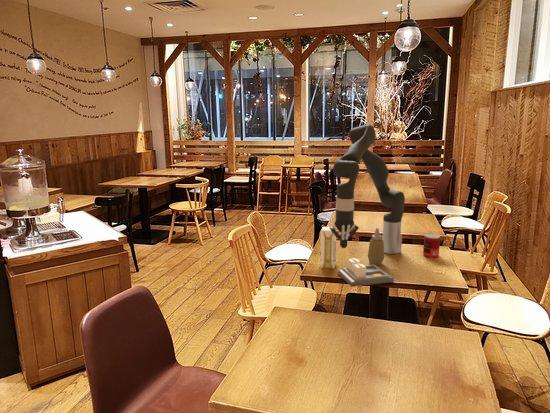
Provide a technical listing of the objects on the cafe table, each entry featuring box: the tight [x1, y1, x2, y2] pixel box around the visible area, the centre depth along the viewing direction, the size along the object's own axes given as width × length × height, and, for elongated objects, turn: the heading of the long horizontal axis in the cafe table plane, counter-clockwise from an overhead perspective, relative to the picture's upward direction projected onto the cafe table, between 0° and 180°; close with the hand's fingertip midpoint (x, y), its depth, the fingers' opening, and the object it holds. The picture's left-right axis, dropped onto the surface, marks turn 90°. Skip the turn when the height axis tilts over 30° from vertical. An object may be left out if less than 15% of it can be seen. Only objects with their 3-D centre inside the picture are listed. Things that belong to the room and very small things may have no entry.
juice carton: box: [319, 226, 337, 270], centre depth 201 cm, size 8×9×19 cm
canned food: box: [422, 233, 441, 259], centre depth 215 cm, size 8×8×11 cm
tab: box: [353, 262, 366, 278], centre depth 183 cm, size 4×4×6 cm
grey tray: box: [337, 264, 395, 288], centre depth 188 cm, size 20×15×3 cm
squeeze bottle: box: [367, 227, 385, 266], centre depth 204 cm, size 8×8×18 cm
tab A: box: [347, 257, 361, 272], centre depth 190 cm, size 4×4×6 cm
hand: (343, 247), depth 179 cm, fingers closed
